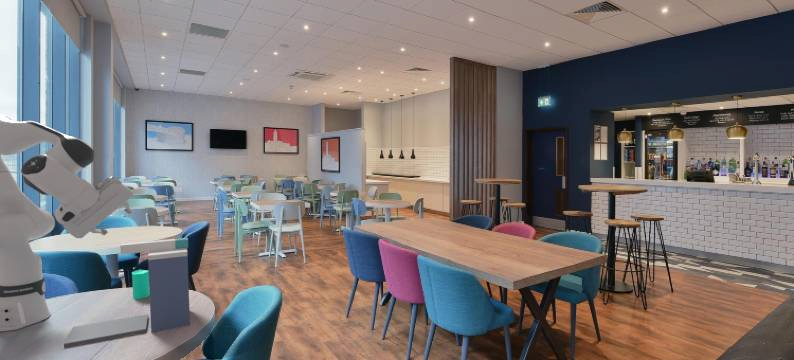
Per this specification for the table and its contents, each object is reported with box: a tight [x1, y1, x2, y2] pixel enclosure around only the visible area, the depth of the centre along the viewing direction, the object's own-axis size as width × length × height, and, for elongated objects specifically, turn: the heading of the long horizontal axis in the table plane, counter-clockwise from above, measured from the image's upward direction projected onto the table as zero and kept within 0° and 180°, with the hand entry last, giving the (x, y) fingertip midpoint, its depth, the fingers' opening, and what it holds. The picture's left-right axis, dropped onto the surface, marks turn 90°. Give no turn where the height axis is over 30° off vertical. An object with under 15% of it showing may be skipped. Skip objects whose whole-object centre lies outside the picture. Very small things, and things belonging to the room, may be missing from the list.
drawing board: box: [63, 314, 149, 348], centre depth 135 cm, size 22×14×1 cm, turn 119°
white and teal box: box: [119, 237, 189, 255], centre depth 140 cm, size 20×4×3 cm, turn 119°
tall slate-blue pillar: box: [147, 248, 191, 333], centre depth 143 cm, size 12×16×26 cm
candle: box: [131, 269, 150, 300], centre depth 168 cm, size 6×6×12 cm
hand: (118, 222), depth 132 cm, fingers open, 8 cm apart
